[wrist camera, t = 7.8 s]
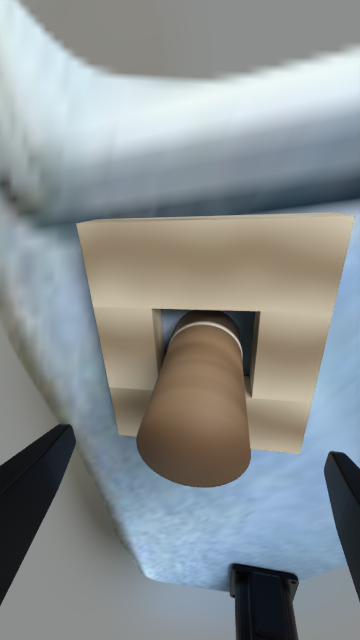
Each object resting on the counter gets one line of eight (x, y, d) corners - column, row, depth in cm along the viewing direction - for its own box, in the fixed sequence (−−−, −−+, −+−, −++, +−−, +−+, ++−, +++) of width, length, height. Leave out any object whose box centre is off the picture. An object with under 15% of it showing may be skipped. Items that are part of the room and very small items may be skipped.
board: (292, 428, 18) (299, 454, 17) (128, 413, 20) (118, 434, 18) (336, 212, 12) (355, 215, 10) (95, 219, 14) (76, 223, 12)
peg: (238, 366, 17) (247, 494, 10) (175, 363, 17) (141, 480, 10) (242, 307, 15) (257, 412, 8) (172, 306, 16) (128, 401, 9)
